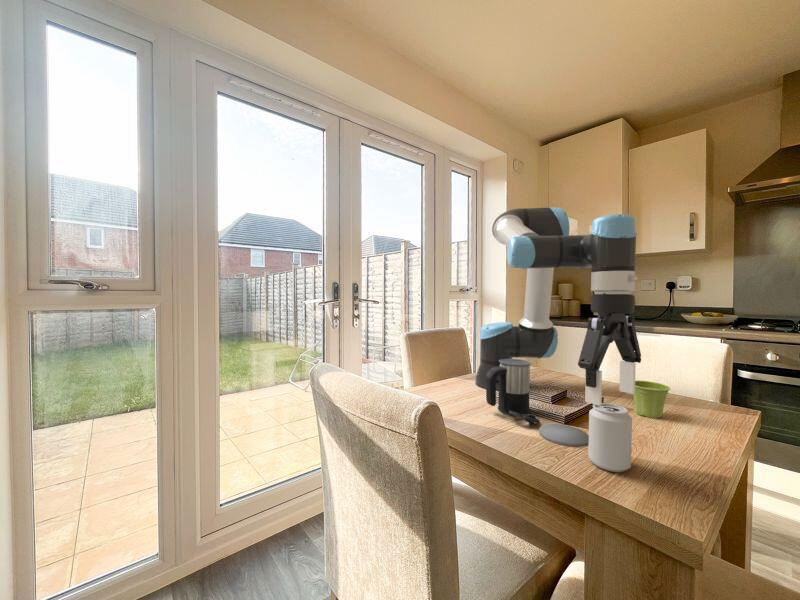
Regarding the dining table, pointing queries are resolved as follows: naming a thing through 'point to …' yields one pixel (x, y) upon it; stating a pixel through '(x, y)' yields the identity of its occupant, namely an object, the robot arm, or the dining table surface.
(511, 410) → the milk frother
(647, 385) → the plant pot
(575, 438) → the coaster
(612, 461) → the can
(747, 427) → the dining table surface
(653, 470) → the dining table surface
